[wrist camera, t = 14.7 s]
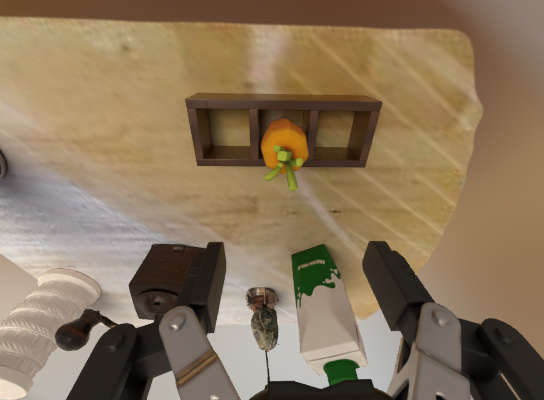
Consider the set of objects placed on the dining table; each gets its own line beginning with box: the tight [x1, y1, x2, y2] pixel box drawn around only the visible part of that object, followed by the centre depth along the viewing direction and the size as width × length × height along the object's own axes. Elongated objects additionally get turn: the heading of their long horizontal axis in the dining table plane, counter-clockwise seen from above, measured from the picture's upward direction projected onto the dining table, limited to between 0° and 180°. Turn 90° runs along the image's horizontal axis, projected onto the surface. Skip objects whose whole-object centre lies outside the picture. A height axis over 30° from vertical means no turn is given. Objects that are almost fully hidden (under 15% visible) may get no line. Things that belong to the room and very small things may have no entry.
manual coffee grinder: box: [55, 244, 206, 351], centre depth 37 cm, size 16×11×18 cm
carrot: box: [261, 118, 309, 191], centre depth 24 cm, size 5×5×15 cm
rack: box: [185, 93, 382, 167], centre depth 29 cm, size 8×22×5 cm, turn 89°
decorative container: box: [0, 269, 101, 400], centre depth 41 cm, size 12×12×18 cm
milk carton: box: [291, 244, 368, 386], centre depth 37 cm, size 9×9×20 cm
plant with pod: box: [246, 288, 278, 390], centre depth 43 cm, size 8×11×20 cm
